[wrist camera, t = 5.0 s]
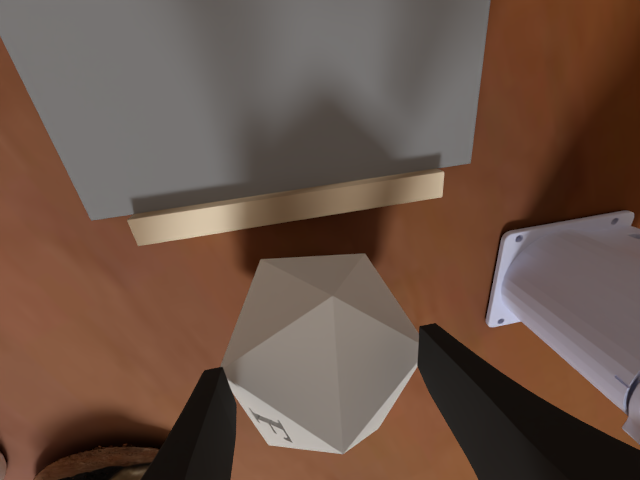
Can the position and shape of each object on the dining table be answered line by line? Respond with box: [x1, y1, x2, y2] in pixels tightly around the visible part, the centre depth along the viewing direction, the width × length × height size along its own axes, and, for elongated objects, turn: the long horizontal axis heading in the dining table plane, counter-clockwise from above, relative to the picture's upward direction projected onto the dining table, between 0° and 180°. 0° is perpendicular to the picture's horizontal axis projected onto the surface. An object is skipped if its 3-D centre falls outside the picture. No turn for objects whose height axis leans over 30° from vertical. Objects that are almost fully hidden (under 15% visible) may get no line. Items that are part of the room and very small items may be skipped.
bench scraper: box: [0, 0, 490, 221], centre depth 13 cm, size 20×13×1 cm, turn 96°
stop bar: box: [127, 168, 444, 246], centre depth 16 cm, size 16×1×1 cm, turn 96°
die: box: [220, 253, 419, 454], centre depth 14 cm, size 8×9×10 cm
